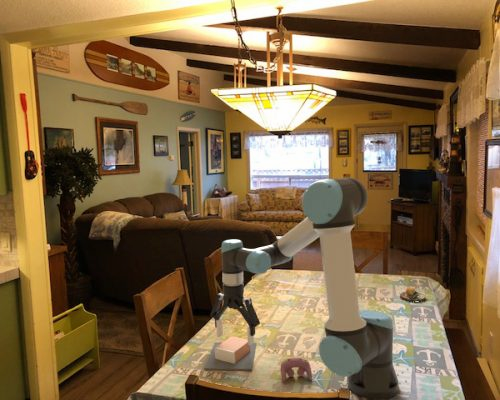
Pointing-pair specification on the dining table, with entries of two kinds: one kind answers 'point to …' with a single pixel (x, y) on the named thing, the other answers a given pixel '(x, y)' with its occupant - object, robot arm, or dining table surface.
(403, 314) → the dining table surface
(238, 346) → the block
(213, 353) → the mat
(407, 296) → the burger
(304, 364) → the video game controller
